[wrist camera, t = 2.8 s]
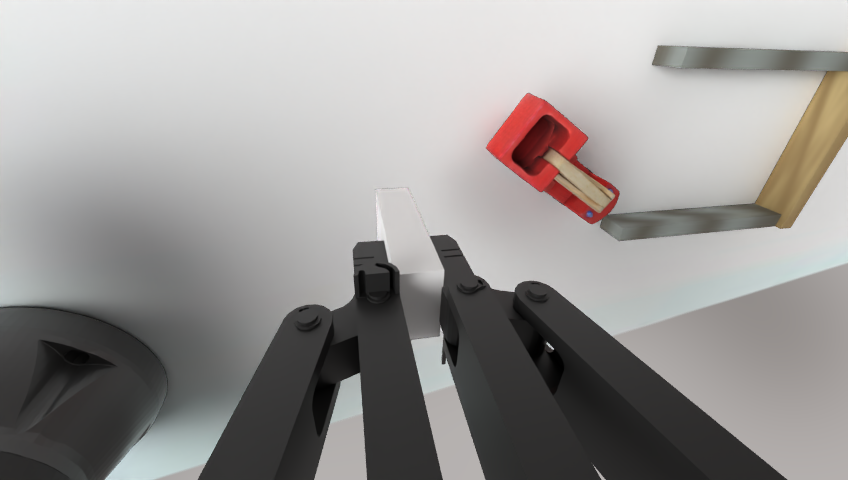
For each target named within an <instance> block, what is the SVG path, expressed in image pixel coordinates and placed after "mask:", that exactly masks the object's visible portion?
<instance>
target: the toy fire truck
mask: <svg viewBox="0 0 848 480" xmlns="http://www.w3.org/2000/svg"><path fill="white" fill-rule="evenodd" d="M587 140H588V137H587V136H586V135H585V134H584V133H583V132H581V131H580V129H578V128H577V127H576V126H575V125H574V124H573V123H571V122H570V121H569V120H568V119H567V118H566V117H564V115H562V114H561V113H560V112H559V111H557V110H556V109H555V108H554V107H553V106H552V105H550V104H549V103H548V102H547V101H545V100H543V99H541V98H538V97H536V96H534V95H532V94H530V93H527V94H526V95H525V96H524V97H523V98H522V100H521V101H520V103H519V104H518V105H517V106H516V108H515V109H514V111H513V112H512V113H511V115H510V116H509V117H508V119H507V120H506V121H505V123H504V124H503V125H502V126H501V128H500V129H499V130H498V132H497V133H496V134H495V136H494V137H493V139H492V140H491V141H490V142H489V143H488V145H487V147H486V149H487V150H488V151H489V152H490V153H491V154H492V155H493V156H494V157H496V159H498V160H499V161H501V162H502V163H503V164H504V165H505V166H507V167H508V168H509V169H511V170H512V171H513V172H514V173H516V174H517V175H518V176H519V177H521V178H522V179H523V180H525V181H526V182H528V183H529V184H530V185H531V186H533V187H534V188H535V189H537V190H538V191H539V192H543V191H545V192H546V193H548V194H549V195H551V196H552V197H553V198H554V199H556V200H557V201H558V202H560V203H561V204H563V205H564V206H566V207H568V208H569V209H570V210H572V211H573V212H574V213H576V214H577V215H578V216H580V217H581V218H582V219H584V220H585V221H587V222H588V223H590V224H594V223H596V222H598V221H599V220H601V219H602V218H604V217H605V216H606V215H608V214H609V213H610V212H611V210H612V209H613V208H614V206H615V205H616V203H617V200H618V197H619V194H620V193H619V191H618V190H617V189H616V188H615V187H614V186H613V185H611V184H610V183H609V182H607V181H605V180H604V179H602V178H600V177H598V176H596V175H595V174H593V173H592V172H591V171H590V170H589V169H587V168H586V167H584V166H583V165H582V164H581V163H579V162H578V161H577V159H578V158H577V156H576V155H575V154H576V153H577V152H578V151H579V149H580V148H581V147H582V146H583V145H584V144H585V142H586V141H587Z"/></svg>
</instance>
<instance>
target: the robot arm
mask: <svg viewBox="0 0 848 480" xmlns="http://www.w3.org/2000/svg"><path fill="white" fill-rule="evenodd" d="M376 213H377V239H378V241H371V242H358V243H357V245H356V246H355V248H354V249H353V260H354V286H355V295H354V297H353V299H352V300H351V301H350V302H349V303H348V304H347V305H345V306H344V307H341V308H339V309H337V310H334V311H331V312H330V310H329V309H327V308H326V307H324V306H320V305H305V306H302V307H299V308H296V309H295V310H293V311H292V312H290V313H289V314H288V315H287V316H286V317H285V319H284V320H283V322H282V324H281V326H280V327H279V329H278V331H277V333H276V335H275V337H274V339H273V340H272V342H271V344H270V346H269V348H268V350H267V352H266V353H265V355H264V357H263V359H262V361H261V363H260V365H259V366H258V368H257V370H256V372H255V374H254V376H253V378H252V380H251V381H250V383H249V385H248V387H247V389H246V391H245V393H244V394H243V396H242V398H241V400H240V402H239V404H238V406H237V407H236V409H235V411H234V413H233V415H232V417H231V419H230V420H229V422H228V424H227V426H226V428H225V430H224V432H223V433H222V435H221V437H220V439H219V441H218V443H217V445H216V447H215V448H214V450H213V452H212V454H211V456H210V458H209V460H208V461H207V463H206V465H205V467H204V469H203V471H202V473H201V474H200V476H199V478H198V480H314V478H315V474H316V471H317V467H318V463H319V460H320V456H321V453H322V449H323V445H324V442H325V438H326V435H327V431H328V427H329V424H330V420H331V417H332V413H333V409H334V406H335V402H336V399H337V395H338V391H339V388H340V381H342V380H344V379H346V378H349V377H351V376H353V375H355V374H358V373H360V375H361V391H362V406H363V422H364V436H365V452H366V468H367V480H443V479H442V475H441V471H440V466H439V461H438V457H437V453H436V449H435V444H434V440H433V435H432V431H431V427H430V422H429V418H428V414H427V410H426V405H425V401H424V397H423V392H422V388H421V384H420V379H419V375H418V371H417V366H416V362H415V358H414V353H413V349H412V345H411V340H413V339H421V338H429V337H436V336H439V335H440V325H441V328H442V331H443V334H444V337H443V349H442V364H445V361H446V358H447V361H448V364H449V367H450V370H451V373H452V377H453V380H454V383H455V386H456V389H457V392H458V395H459V398H460V401H461V404H462V408H463V410H464V414H465V417H466V420H467V423H468V426H469V429H470V433H471V436H472V439H473V442H474V445H475V448H476V451H477V454H478V457H479V460H480V464H481V467H482V470H483V473H484V476H485V479H486V480H601V478H600V477H599V475H598V473H597V471H596V470H595V468H594V466H595V467H596V469H597V470H598V471H599V472H600V473H601V475H602V476H603V477H604V478H605V479H606V480H787V479H786V478H784V477H783V476H782V475H781V474H780V473H778V472H777V471H776V470H775V469H773V468H772V467H771V466H770V465H769V464H767V463H766V462H765V461H764V460H763V459H761V458H760V457H759V456H758V455H756V454H755V453H754V452H753V451H751V450H750V449H749V448H748V447H746V446H745V445H744V444H743V443H742V442H740V441H739V440H738V439H737V438H736V437H734V436H733V435H732V434H731V433H729V432H728V431H727V430H726V429H725V428H723V427H722V426H721V425H720V424H718V423H717V422H716V421H715V420H714V419H712V418H711V417H710V416H709V415H707V414H706V413H705V412H704V411H703V410H701V409H700V408H699V407H698V406H696V405H695V404H694V403H693V402H691V401H690V400H689V399H687V397H685V396H684V395H683V394H682V393H680V392H679V391H678V390H677V389H676V388H674V387H673V386H672V385H671V384H669V383H668V382H667V381H666V380H665V379H663V378H662V377H661V376H660V375H658V374H657V373H656V372H655V371H654V370H652V369H651V368H650V367H649V366H647V365H646V364H645V363H644V362H643V361H641V360H640V359H639V358H638V357H636V356H635V355H634V354H633V353H631V352H630V351H629V350H628V349H626V348H625V347H624V346H623V345H622V344H620V343H619V342H618V341H617V340H615V339H614V338H613V337H612V336H611V335H610V334H608V333H607V332H606V331H605V330H603V329H602V328H601V327H600V326H598V325H597V324H596V323H595V322H594V321H592V320H591V319H590V318H589V317H587V316H586V315H585V314H584V313H583V312H581V311H580V310H579V309H578V308H576V307H575V306H574V305H573V304H572V303H570V302H569V301H568V300H567V299H565V298H564V297H563V296H562V295H561V294H559V293H558V292H557V291H556V290H554V289H553V288H552V287H550V286H548V285H547V284H544V283H541V282H537V281H525V282H522V283H520V284H518V285H517V287H516V288H515V292H507V291H499V290H494V289H491V288H490V286H489V284H488V283H487V282H486V281H485V280H484V279H482V278H480V277H479V276H475V275H474V273H473V272H472V270H471V268H470V266H469V264H468V262H467V261H466V259H465V257H464V256H463V253H462V251H461V250H460V248H459V246H458V244H457V242H456V241H455V240H454V239H452V238H451V237H449V236H448V235H440V236H429V234H428V231H427V229H426V227H425V224H424V222H423V220H422V217H421V215H420V213H419V210H418V208H417V206H416V204H415V201H414V199H413V197H412V194H411V192H410V190H409V188H390V189H376ZM547 342H548V343H549V344H550V345H551V346H552V347H553V348H554V350H552V349H551V348H550V347H549V346H548V345H547V344H546V343H547ZM166 393H167V377H166V374H165V371H164V369H163V367H162V365H161V363H160V362H159V360H158V359H157V357H156V356H155V355H154V354H153V353H152V352H151V351H150V350H149V349H148V348H147V347H146V346H145V345H143V344H142V343H141V342H140V341H138V340H137V339H135V338H134V337H132V336H131V335H129V334H127V333H125V332H124V331H122V330H120V329H118V328H116V327H113V326H111V325H109V324H106V323H104V322H101V321H98V320H96V319H93V318H89V317H86V316H82V315H78V314H74V313H70V312H65V311H59V310H52V309H43V308H26V307H15V308H0V480H105V479H106V477H107V476H108V475H109V474H110V473H111V472H112V470H113V469H114V468H115V467H116V466H117V465H118V464H119V462H120V461H121V460H122V459H123V458H124V456H125V455H126V454H127V453H128V452H129V450H130V449H131V448H132V447H133V446H134V445H135V444H136V443H137V442H138V441H139V440H140V439H141V438H142V437H143V436H144V435H145V434H146V433H147V432H148V431H149V429H150V428H151V426H152V424H153V423H154V421H155V419H156V417H157V415H158V413H159V411H160V408H161V406H162V404H163V402H164V400H165V397H166ZM591 462H592V463H591ZM593 465H594V466H593Z"/></svg>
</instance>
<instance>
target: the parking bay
mask: <svg viewBox="0 0 848 480" xmlns="http://www.w3.org/2000/svg"><path fill="white" fill-rule="evenodd" d="M652 65H659V66H668V67H677V68H709V69H760V70H811V71H827V73H826V75H825V77H824V79H823V81H822V82H821V84H820V86H819V88H818V90H817V91H816V93H815V95H814V97H813V99H812V101H811V102H810V104H809V106H808V108H807V110H806V111H805V113H804V115H803V117H802V119H801V121H800V122H799V124H798V126H797V128H796V130H795V132H794V133H793V135H792V137H791V139H790V141H789V142H788V144H787V146H786V148H785V150H784V152H783V153H782V155H781V157H780V159H779V161H778V162H777V164H776V166H775V168H774V170H773V172H772V173H771V175H770V177H769V179H768V181H767V182H766V184H765V186H764V188H763V190H762V192H761V193H760V195H759V197H758V199H757V201H756V203H755V204H743V205H730V206H717V207H704V208H691V209H678V210H665V211H652V212H639V213H626V214H613V215H606V216H605V217H604V218H603V219H602V222H601V225H600V228H602V229H603V230H604V231H606V232H607V233H609V234H610V235H611V236H613V237H614V238H615V239H617V240H618V241H624V240H635V239H645V238H656V237H667V236H677V235H688V234H698V233H709V232H719V231H730V230H740V229H751V228H761V227H772V226H776V227H778V228H780V229H783V228H791V226H792V225H793V223H794V221H795V220H796V218H797V217H798V215H799V213H800V212H801V210H802V209H803V207H804V206H805V204H806V202H807V201H808V199H809V198H810V196H811V194H812V193H813V191H814V190H815V188H816V186H817V185H818V183H819V182H820V180H821V178H822V177H823V175H824V174H825V172H826V170H827V169H828V167H829V166H830V164H831V163H832V161H833V159H834V158H835V156H836V155H837V153H838V151H839V150H840V148H841V147H842V145H843V143H844V142H845V140H846V139H847V137H848V52H830V51H801V50H772V49H743V48H714V47H685V46H658V48H657V51H656V54H655V57H654V60H653V63H652Z"/></svg>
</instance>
